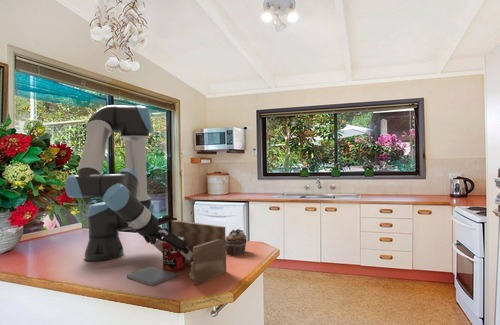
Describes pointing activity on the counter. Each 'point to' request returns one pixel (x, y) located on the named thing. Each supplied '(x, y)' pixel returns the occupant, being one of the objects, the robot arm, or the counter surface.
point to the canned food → (172, 258)
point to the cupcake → (236, 242)
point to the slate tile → (151, 276)
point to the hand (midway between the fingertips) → (178, 254)
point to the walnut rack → (203, 248)
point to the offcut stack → (191, 271)
